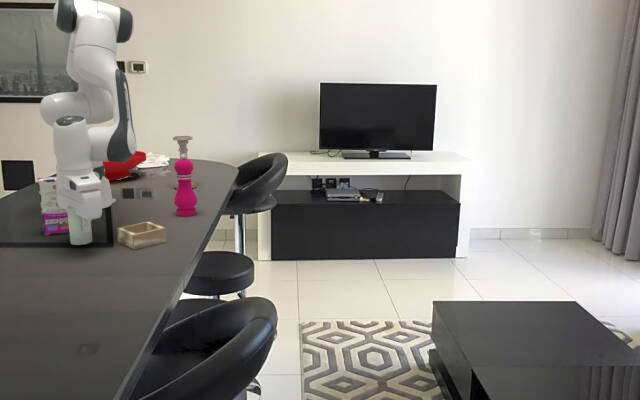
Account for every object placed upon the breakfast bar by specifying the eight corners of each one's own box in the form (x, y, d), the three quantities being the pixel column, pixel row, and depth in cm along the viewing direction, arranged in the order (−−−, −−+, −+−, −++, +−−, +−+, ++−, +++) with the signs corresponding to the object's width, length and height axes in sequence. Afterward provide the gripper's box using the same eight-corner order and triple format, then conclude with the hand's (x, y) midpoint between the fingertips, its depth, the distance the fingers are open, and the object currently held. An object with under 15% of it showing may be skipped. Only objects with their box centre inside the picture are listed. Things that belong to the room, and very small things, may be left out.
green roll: (67, 241, 150) (63, 205, 147) (87, 237, 153) (83, 202, 151) (75, 246, 146) (72, 209, 143) (96, 241, 150) (92, 206, 147)
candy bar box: (84, 226, 167) (79, 173, 163) (85, 231, 163) (80, 177, 159) (43, 231, 162) (36, 177, 158) (43, 236, 158) (37, 180, 154)
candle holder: (201, 186, 222) (198, 136, 217) (185, 191, 214) (182, 139, 209) (185, 184, 226) (182, 135, 221) (169, 188, 219) (166, 137, 214)
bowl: (162, 175, 244) (160, 152, 242) (111, 188, 217) (109, 163, 215) (110, 169, 256) (108, 148, 254) (55, 181, 229) (52, 158, 227)
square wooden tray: (117, 241, 154) (116, 228, 153) (148, 234, 160) (147, 221, 159) (135, 249, 147) (134, 235, 146) (166, 241, 154) (165, 228, 153)
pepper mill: (191, 217, 178) (188, 156, 173) (171, 216, 179) (167, 155, 174) (201, 211, 185) (198, 152, 180) (181, 210, 186) (177, 152, 181)
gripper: (47, 174, 150) (53, 223, 153) (80, 186, 136) (85, 239, 140) (71, 171, 154) (75, 218, 158) (104, 182, 141) (109, 234, 144)
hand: (80, 228), depth 149 cm, fingers closed on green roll, 5 cm apart
